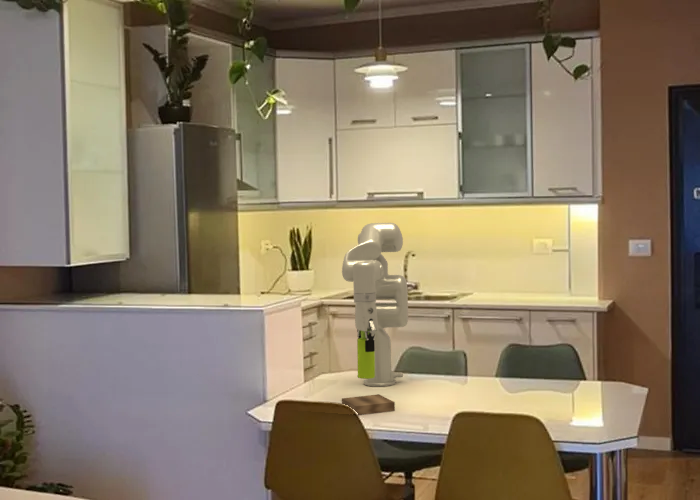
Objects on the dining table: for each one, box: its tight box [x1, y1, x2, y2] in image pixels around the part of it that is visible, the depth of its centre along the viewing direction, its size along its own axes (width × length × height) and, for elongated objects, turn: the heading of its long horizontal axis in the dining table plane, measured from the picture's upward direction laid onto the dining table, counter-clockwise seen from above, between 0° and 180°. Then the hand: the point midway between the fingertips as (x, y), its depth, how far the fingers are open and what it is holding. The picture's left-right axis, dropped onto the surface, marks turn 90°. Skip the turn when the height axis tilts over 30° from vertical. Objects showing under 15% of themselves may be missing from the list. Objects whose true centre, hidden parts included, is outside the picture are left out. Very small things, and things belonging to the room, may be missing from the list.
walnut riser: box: [341, 394, 396, 416], centre depth 309 cm, size 14×14×3 cm
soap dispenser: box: [356, 329, 375, 380], centre depth 307 cm, size 6×7×20 cm
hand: (366, 349), depth 308 cm, fingers closed on soap dispenser, 6 cm apart
